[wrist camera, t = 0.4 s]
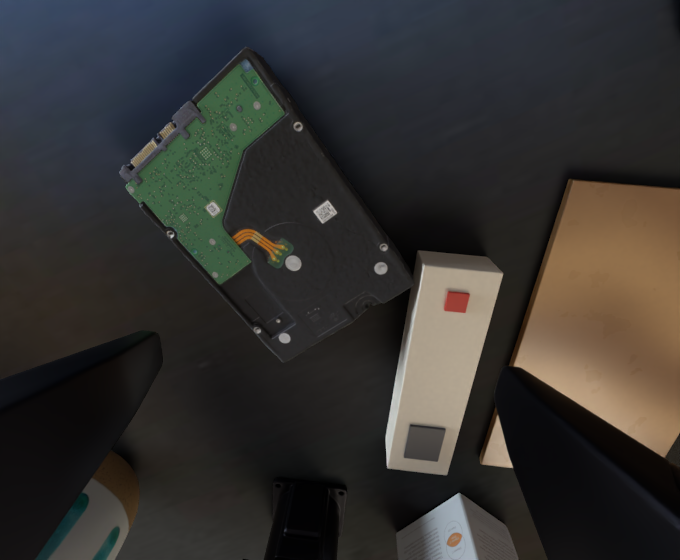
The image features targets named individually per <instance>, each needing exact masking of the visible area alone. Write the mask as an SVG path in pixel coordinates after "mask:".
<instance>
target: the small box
mask: <svg viewBox="0 0 680 560" xmlns="http://www.w3.org/2000/svg"><path fill="white" fill-rule="evenodd" d="M396 540H397V553H398V560H519V558H518V556H517V553H516V550H515V548H514V545H513V542H512V539H511V536H510V534H509V531H508V528H507V527H506V526H505V524H504V523H502V522H501V521H499V520H498V519H496V518H495V517H493V516H492V515H491V514H489V513H488V512H486V511H485V510H484V509H482V508H481V507H479V506H478V505H477V504H475V503H474V502H472V501H471V500H470V499H468V498H467V497H465V496H464V495H462V494H461V493H458V494H456V495H455V496H453V497H452V498H450V499H449V500H447V501H446V502H444V503H443V504H441V505H440V506H438V507H436V508H435V509H433V510H432V511H430V512H429V513H427V514H426V515H424V516H422V517H421V518H419V519H418V520H416V521H415V522H413V523H412V524H410V525H408V526H407V527H405V528H404V529H402V530H401V531H399V532H397V533H396Z"/></svg>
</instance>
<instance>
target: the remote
mask: <svg viewBox="0 0 680 560" xmlns="http://www.w3.org/2000/svg"><path fill="white" fill-rule="evenodd" d="M502 276H503V272H502V271H501V270H500V269H499V268H498V267H497V266H496V265H495V264H494V263H493V262H492V261H491V260H490V259H489V258H488V257H483V256H473V255H462V254H452V253H441V252H430V251H420V250H418V251H417V256H416V262H415V268H414V273H413V280H414V285H413V286H412V287H411V291H410V297H409V303H408V309H407V315H406V320H405V326H404V332H403V338H402V344H401V350H400V356H399V362H398V367H397V373H396V379H395V385H394V391H393V397H392V403H391V408H390V414H389V420H388V426H387V432H386V438H385V440H386V457H387V468H388V469H397V470H405V471H414V472H422V473H431V474H439V475H447V473H448V470H449V466H450V463H451V459H452V456H453V452H454V448H455V445H456V441H457V438H458V434H459V430H460V427H461V423H462V420H463V416H464V413H465V409H466V405H467V402H468V398H469V395H470V391H471V387H472V384H473V380H474V377H475V373H476V370H477V366H478V362H479V359H480V355H481V352H482V348H483V344H484V341H485V337H486V334H487V330H488V327H489V323H490V319H491V316H492V312H493V309H494V305H495V301H496V298H497V294H498V291H499V287H500V283H501V280H502Z"/></svg>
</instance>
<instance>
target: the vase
mask: <svg viewBox="0 0 680 560" xmlns="http://www.w3.org/2000/svg"><path fill="white" fill-rule="evenodd" d="M139 495H140V491H139V483H138V479H137V476H136V474H135V473H134V471H133V469H132V468H131V466H130V465H129V464H128V463H127V462H126V461H125V460H124V459H123V458H122V457H121V456H119V455H118V454H116V453H115V452H113V451H110V452H109V454H108V455H107V456H106V458H105V459H104V461H103V462H102V464H101V465H100V467H99V468H98V469H97V471H96V472H95V474H94V475H93V477H92V478H91V480H90V481H89V482H88V484H87V485H86V487H85V488H84V490H83V491H82V493H81V494H80V495H79V497H78V498H77V500H76V501H75V503H74V504H73V506H72V507H71V509H70V510H69V511H68V513H67V514H66V516H65V517H64V519H63V520H62V522H61V523H60V524H59V526H58V527H57V529H56V530H55V532H54V533H53V535H52V536H51V537H50V539H49V540H48V542H47V543H46V545H45V546H44V548H43V549H42V550H41V552H40V553H39V555H38V556H37V558H36V559H35V560H115V558H116V556H117V554H118V552H119V550H120V548H121V546H122V544H123V542H124V540H125V538H126V536H127V534H128V532H129V530H130V528H131V526H132V523H133V521H134V518H135V516H136V513H137V509H138V504H139Z"/></svg>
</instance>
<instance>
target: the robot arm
mask: <svg viewBox="0 0 680 560" xmlns="http://www.w3.org/2000/svg"><path fill="white" fill-rule="evenodd" d="M162 362H163V356H162V349H161V342H160V337H159V334H158V333H156V332H152V331H139V332H136V333H133V334H130V335H127V336H124V337H121V338H119V339H116V340H113V341H110V342H107V343H104V344H101V345H98V346H95V347H93V348H90V349H87V350H84V351H81V352H78V353H75V354H72V355H70V356H67V357H64V358H61V359H58V360H55V361H52V362H49V363H47V364H44V365H41V366H38V367H35V368H32V369H29V370H26V371H24V372H21V373H18V374H15V375H12V376H9V377H6V378H3V379H1V380H0V560H35V559H36V558H37V556H38V555H39V553H40V552H41V550H42V549H43V548H44V546H45V545H46V543H47V542H48V540H49V539H50V537H51V536H52V535H53V533H54V532H55V530H56V529H57V527H58V526H59V524H60V523H61V522H62V520H63V519H64V517H65V516H66V514H67V513H68V511H69V510H70V509H71V507H72V506H73V504H74V503H75V501H76V500H77V498H78V497H79V495H80V494H81V493H82V491H83V490H84V488H85V487H86V485H87V484H88V482H89V481H90V480H91V478H92V477H93V475H94V474H95V472H96V471H97V469H98V468H99V467H100V465H101V464H102V462H103V461H104V459H105V458H106V456H107V455H108V454H109V452H110V451H111V449H112V448H113V446H114V445H115V443H116V442H117V440H118V439H119V438H120V436H121V435H122V433H123V432H124V430H125V429H126V427H127V426H128V424H129V423H130V421H131V420H132V418H133V417H134V415H135V413H136V412H137V410H138V408H139V407H140V405H141V403H142V401H143V399H144V398H145V396H146V394H147V392H148V390H149V388H150V387H151V385H152V383H153V381H154V379H155V378H156V376H157V374H158V372H159V370H160V368H161V366H162ZM494 401H495V405H496V409H497V413H498V416H499V420H500V424H501V428H502V432H503V436H504V440H505V443H506V447H507V451H508V454H509V458H510V460H511V463H512V466H513V469H514V471H515V474H516V477H517V479H518V482H519V485H520V487H521V490H522V492H523V495H524V498H525V500H526V503H527V506H528V508H529V511H530V514H531V516H532V519H533V521H534V524H535V527H536V529H537V532H538V535H539V537H540V540H541V542H542V545H543V548H544V550H545V553H546V556H547V558H548V560H680V467H678V466H676V465H675V464H673V463H669V461H668V460H667V459H665V458H664V457H662V456H660V455H659V454H657V453H656V452H654V451H653V450H651V449H649V448H648V447H646V446H645V445H643V444H641V443H640V442H638V441H637V440H635V439H633V438H632V437H630V436H629V435H627V434H626V433H624V432H622V431H621V430H619V429H618V428H616V427H614V426H613V425H611V424H610V423H608V422H607V421H605V420H603V419H602V418H600V417H599V416H597V415H595V414H594V413H592V412H591V411H589V410H587V409H586V408H584V407H583V406H581V405H580V404H578V403H576V402H575V401H573V400H572V399H570V398H568V397H567V396H565V395H564V394H562V393H561V392H559V391H557V390H556V389H554V388H553V387H551V386H549V385H548V384H546V383H545V382H543V381H542V380H540V379H538V378H537V377H535V376H534V375H532V374H530V373H529V372H527V371H526V370H524V369H523V368H521V367H515V366H504V367H502V369H501V371H500V374H499V377H498V381H497V384H496V388H495V392H494ZM346 498H347V488H346V487H345V486H343V485H337V484H329V483H320V482H312V481H304V480H295V479H287V478H275V479H274V482H273V524H272V528H271V532H270V536H269V540H268V544H267V549H266V553H265V557H264V560H337V548H338V537H340V536H341V535H342V530H343V522H344V514H345V506H346ZM243 560H247V559H243Z"/></svg>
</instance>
